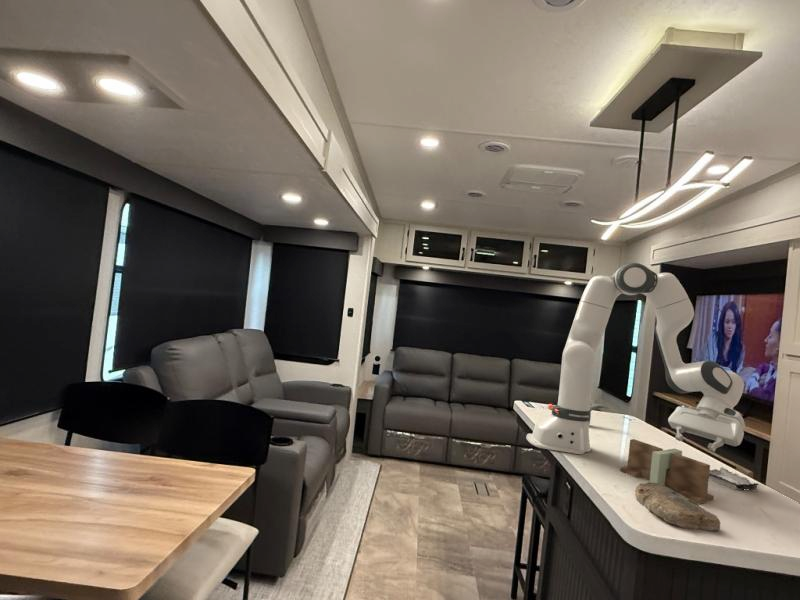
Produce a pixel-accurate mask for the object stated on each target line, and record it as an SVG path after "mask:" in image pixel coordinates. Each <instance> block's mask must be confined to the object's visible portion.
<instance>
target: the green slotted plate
mask: <svg viewBox="0 0 800 600" xmlns="http://www.w3.org/2000/svg"><path fill="white" fill-rule="evenodd" d="M672 454H679V455H682V456H683V450H680V449H677V448H670V449H663V450H661V451H655V452H653V453H652V462H651V472H650V480H649V482H651V483H658V484H661V485H665V477H666V469H670V468H671V458H672Z"/></svg>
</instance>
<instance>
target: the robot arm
mask: <svg viewBox="0 0 800 600" xmlns="http://www.w3.org/2000/svg"><path fill="white" fill-rule="evenodd" d="M640 294H642V295H644V296H645V297H647V298H648V300H649V302H650V304H651V306H652V309H653V311H654V313H655V317H656V324H655V327H654V333H655V338H656V342H657V345H658V348H659V351H660V356H661V358H662V362H663V367H664V372H665V380H666V382H667V384H668V386H669V388H671V389H672V390H673V391H674V392H676V393H678V394H681V395H682V394H688V393H693V392H701V393H702V394H703V396H702V398H701V399H700V400H699V402H698V403H697V406H696V407H692V406H688V405H682V406H681V405H680V406H677V407H676V408H675V410H674V411H673V412H672V413H671V414H670V415H669V417H668V419H667V422H668V424H669V426H670V427H671V429H674V430H675V431H676V435H675V436H674V438H675V440H676V441H679V442H681V443H682V442H683V440H685V439H684V436H683V433H687V434H692V435H695V436H699V437H702V438H705V439H708V440H712V441H714V442H713V443H711V442H709V443H708V445H707V450H708V451H710V452H713V453H714V452H716V450H717V449H718V448H720V447H723V446H724V445H725V444H726V445H729V446H731V447H737V446H740V445H741V444H742V442H743V438H744V434H745V432H744V430H745V429H746V424H745V421H744V418H743V416H742V414H741V412H739V411H737V410H736V409H734V407H735V406H737V405H738V403H739V402H740V399H741V397H742V396H743V393H744V389H745V383H744V379H743V378H742V377H741V376H740V375H739V374H737V373H736V372H734V371H732V370H725V368H723V367H722V366H721V365H720V364H719V363H717V361H716V362H715V361H713V360H703V361H696V362H695V361H694V362H690V363H689V362H688V363H685V362H683V359H682V355H681V354H680V353H681V352H680V350H679V346H678V342H677V337H678V335H679V334H680V332H681V331H683V330H684V329H685V328H687V327H688V326H690V324H691V322H692V321H693V319H694V316H695V310H694V306H693V303H692V302H691V300H690V298H689V295H688V294H687V292H686V290H685V287H683V284H681V283H680V280H679V279H678V278H677V277H676V276H675V274H672V273H671V272H660V273H656V272H654V271H653V270H651V269H650V268H649V267H647V266H646V265H644V264H641V263H639V262H628V263H626V264H624V265H621V266H620V267H619V268H618V269H617V270H616V271H615V272H614V273H613V274H611V276H607V275H595V276H592V277H591V278H590V279H589V281H588V283H587V284H586V286H585V288H584V291H583V293H582V295H581V297H580V300H579V302H578V303H579V304H578V305H577V310H576V312H575V316H574V319H573V321H572V325H571V328H570V330H569V333H568V336H567V339H566V343H565V346H564V348H563V351H562V356H561V366H560V367H561V369H560V379H559V390H558V399H557V404H555V405H554V404H552V403H548V404H547V409H548V410H550V411H551V413H550V414H549V415H548V416H546V417H544V418H542V419H540V420H538V421H537V422H536V423H535V425H534V427H533V431H532V433H527V434H526V436H525V437H526V438H525V439H526V440H527V441H528V442H529V443H530V444H531V445H532V446H535V447H536V448H539V449H546V450H552V451H558V452H564V453H569V454H576V455H584V454H585V453H588V452H591V444H590V434H589V433H590V430H589V426H590V424H591V415H592V411H590V405H591V403H592V390H593V383H594V377H595V369H596V359H597V356H596V354H597V353H598V348H599V345H600V344H601V341H602V338H603V336H604V334H605V331H606V328H607V325H608V323H609V319H610V316H611V313H612V310H613V307H614V304H615V302H616V300H617V298H618V297H619V296H634V295H640Z"/></svg>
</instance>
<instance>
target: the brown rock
mask: <svg viewBox="0 0 800 600" xmlns="http://www.w3.org/2000/svg"><path fill="white" fill-rule="evenodd" d="M634 491H635V497H636V500H637V501H638V502H639V503H640V504H641V505H642V506H643V507H644V506H645V507H646V508H645V507H644V508H645V509H647V508H648V509H647V510H648V511H649V512H651V513H654V515H656V516H657V517H659V518H661V519H662V520H664V522H666V523H668V524H671V525H675V526H677V527H679V528H681V529H687V528H688V529H687V530H694V529H696V530H697V531H698V530H706V531H711V532H719V531H720V530H721V522H720V521H721V520H720V518H719V517H718V516H717V515H715V514H713V513H711V512H710V511H708V510H706V509H704V508H703V507H702V506H700V504H697V503H695V502H694V501H692V500H690V499H688V498H687V497H685V496H683V495H681V494H680V492H677V491H675V490H673V489H670V488H668V487H666V486H665V485H661V484H658V483H651V482H650V481H649V482H647V483H638V485H637V486H636V487H635V490H634ZM696 530H695V531H696Z"/></svg>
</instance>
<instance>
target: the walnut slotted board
mask: <svg viewBox="0 0 800 600" xmlns="http://www.w3.org/2000/svg"><path fill="white" fill-rule="evenodd" d="M661 450H664V448H662V447H658V446H656V445H653V444H650V443H646V442H645V441H641V440H639V439H635V438H633V439H630V440H629V449H628V455H627V465H626V466H625V465H624V466H621V467H619V471H620V472H621V471H622V473H624V474H626V473H627V475H629V474H630V475H629V476H631V475H632V476H631V477H633V476H634V478H639V477H641V476H642V478H644V477H645V478H644V479H646V478H647V480H648V481H650V472H651V462H652V453H653V452H655V451H661ZM710 470H711V465H710V464H708V463H705V462H702V461H699V460H696V459H693V458H690V457H687V456H684V455H683V454H682V455H679V454H672V458H671V468H670V469H666V477H665V486H666V487H668V488H670V489H672V490H673V491H674V492H676V493H679V494H681V495H683V496H685V497H687V498H688V499H690V500H692V501H694V502H695V503H697V504H698V505H701V504H705V503H708V502H711V501H714V500H715V495H713V494H711V493H708V490H709V481H710V480H709V479H710V478H709V472H710ZM638 476H639V477H638Z"/></svg>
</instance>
